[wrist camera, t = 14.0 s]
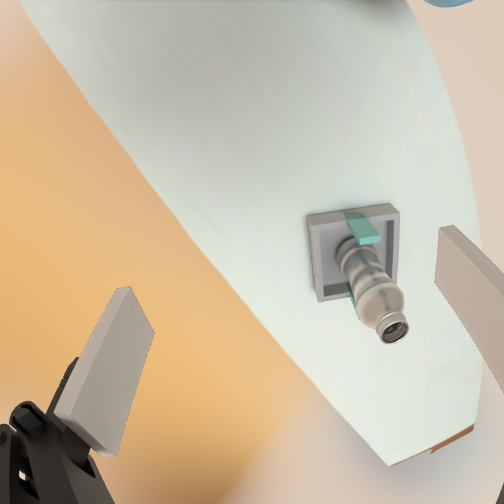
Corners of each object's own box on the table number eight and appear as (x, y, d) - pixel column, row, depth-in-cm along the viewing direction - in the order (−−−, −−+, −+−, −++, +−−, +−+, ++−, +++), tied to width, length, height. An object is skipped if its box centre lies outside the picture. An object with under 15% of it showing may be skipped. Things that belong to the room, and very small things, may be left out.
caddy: (306, 215, 49) (318, 245, 41) (390, 203, 48) (416, 229, 39) (314, 288, 56) (324, 326, 47) (388, 275, 55) (408, 309, 46)
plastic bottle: (378, 247, 51) (429, 325, 33) (351, 275, 53) (388, 359, 36) (354, 224, 49) (402, 300, 31) (325, 254, 51) (357, 339, 34)
